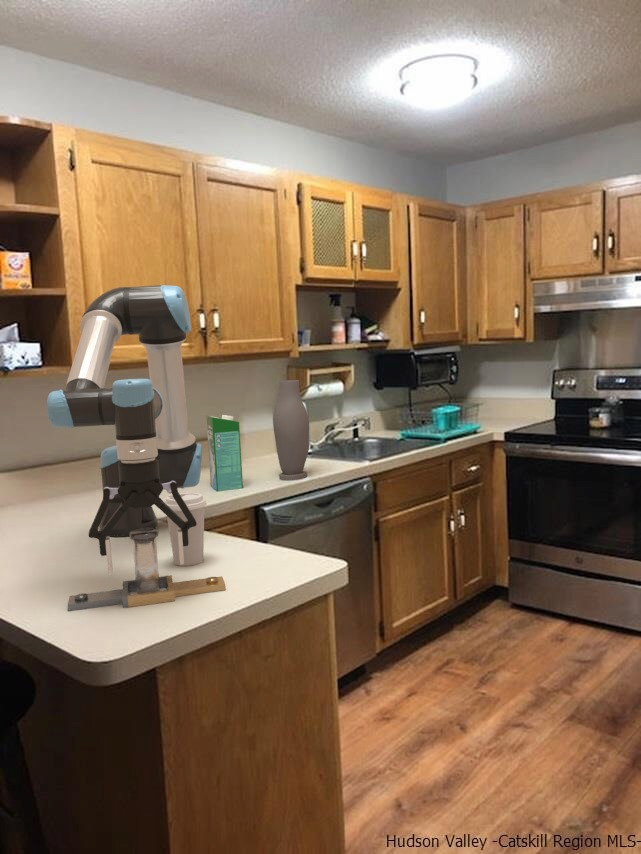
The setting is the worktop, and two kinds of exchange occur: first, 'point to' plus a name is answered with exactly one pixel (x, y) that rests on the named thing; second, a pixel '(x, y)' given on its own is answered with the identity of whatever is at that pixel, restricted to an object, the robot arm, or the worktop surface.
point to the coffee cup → (195, 534)
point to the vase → (291, 431)
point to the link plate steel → (107, 596)
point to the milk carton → (224, 453)
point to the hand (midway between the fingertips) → (146, 566)
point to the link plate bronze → (177, 590)
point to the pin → (145, 559)
